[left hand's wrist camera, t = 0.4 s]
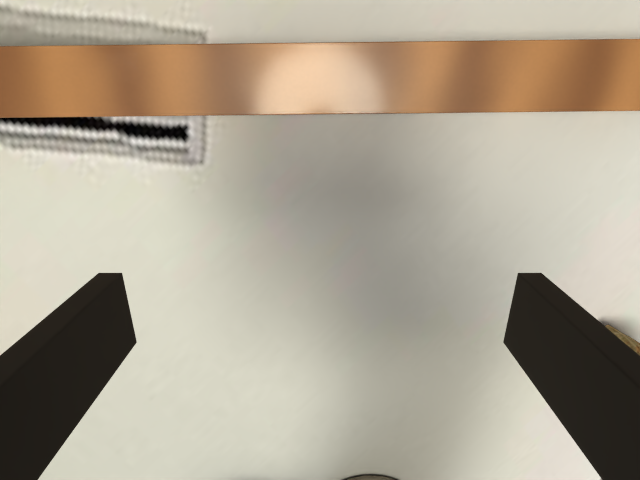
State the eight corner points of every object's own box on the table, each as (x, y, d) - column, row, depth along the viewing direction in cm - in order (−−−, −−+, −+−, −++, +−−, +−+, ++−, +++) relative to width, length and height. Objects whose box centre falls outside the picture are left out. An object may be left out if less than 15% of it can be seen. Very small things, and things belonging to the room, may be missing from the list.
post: (668, 48, 34) (755, 37, 28) (652, 105, 36) (729, 109, 29) (-163, 57, 35) (-283, 49, 28) (-139, 114, 36) (-246, 120, 30)
